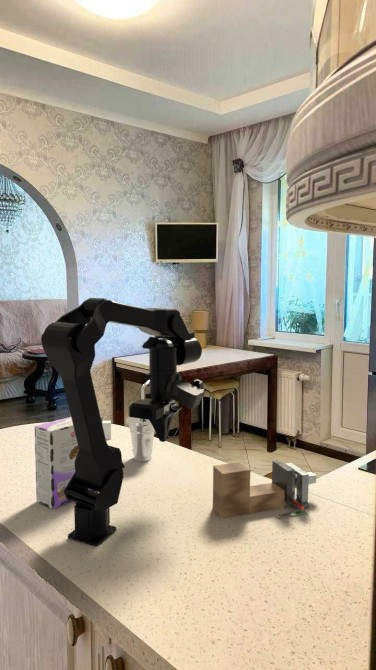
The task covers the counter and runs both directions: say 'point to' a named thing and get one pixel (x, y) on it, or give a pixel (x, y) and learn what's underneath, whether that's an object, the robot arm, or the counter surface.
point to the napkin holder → (107, 429)
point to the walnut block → (242, 492)
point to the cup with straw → (141, 435)
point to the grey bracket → (288, 480)
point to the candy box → (54, 460)
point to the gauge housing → (298, 491)
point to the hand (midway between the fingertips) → (163, 441)
